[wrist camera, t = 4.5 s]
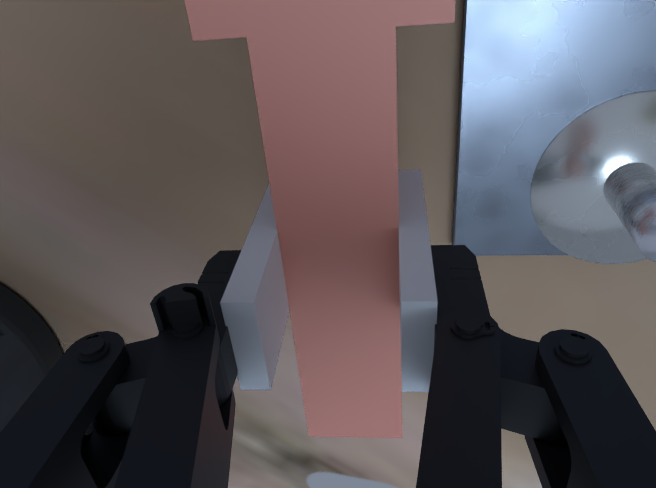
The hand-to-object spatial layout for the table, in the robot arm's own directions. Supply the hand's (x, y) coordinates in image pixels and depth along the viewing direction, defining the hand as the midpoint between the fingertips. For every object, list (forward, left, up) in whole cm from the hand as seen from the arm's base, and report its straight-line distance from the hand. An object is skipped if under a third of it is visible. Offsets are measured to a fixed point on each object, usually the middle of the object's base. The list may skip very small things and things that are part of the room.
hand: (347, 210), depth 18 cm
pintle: (+12, -4, -9) cm, 16 cm away
